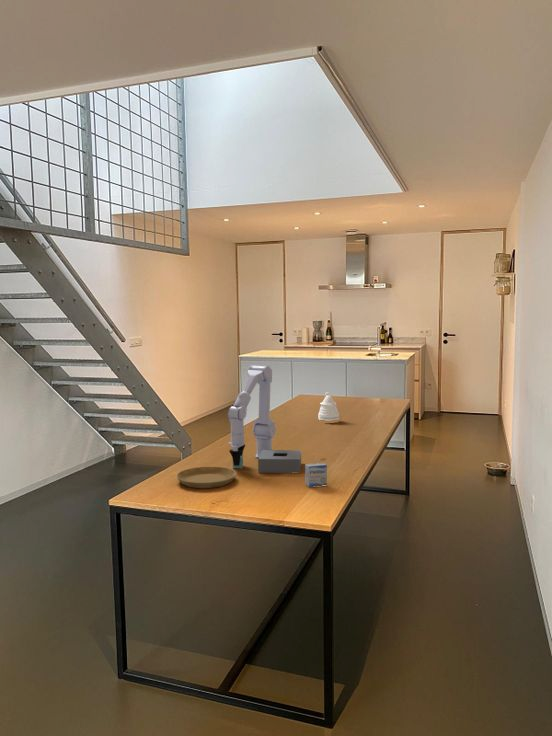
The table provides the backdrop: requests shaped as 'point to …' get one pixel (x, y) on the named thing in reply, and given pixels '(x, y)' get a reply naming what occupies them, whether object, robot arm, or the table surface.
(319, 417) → the honey pot
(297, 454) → the gray slotted box
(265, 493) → the table surface
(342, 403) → the table surface
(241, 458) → the teal rectangular block
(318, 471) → the medicine box
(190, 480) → the plant saucer
